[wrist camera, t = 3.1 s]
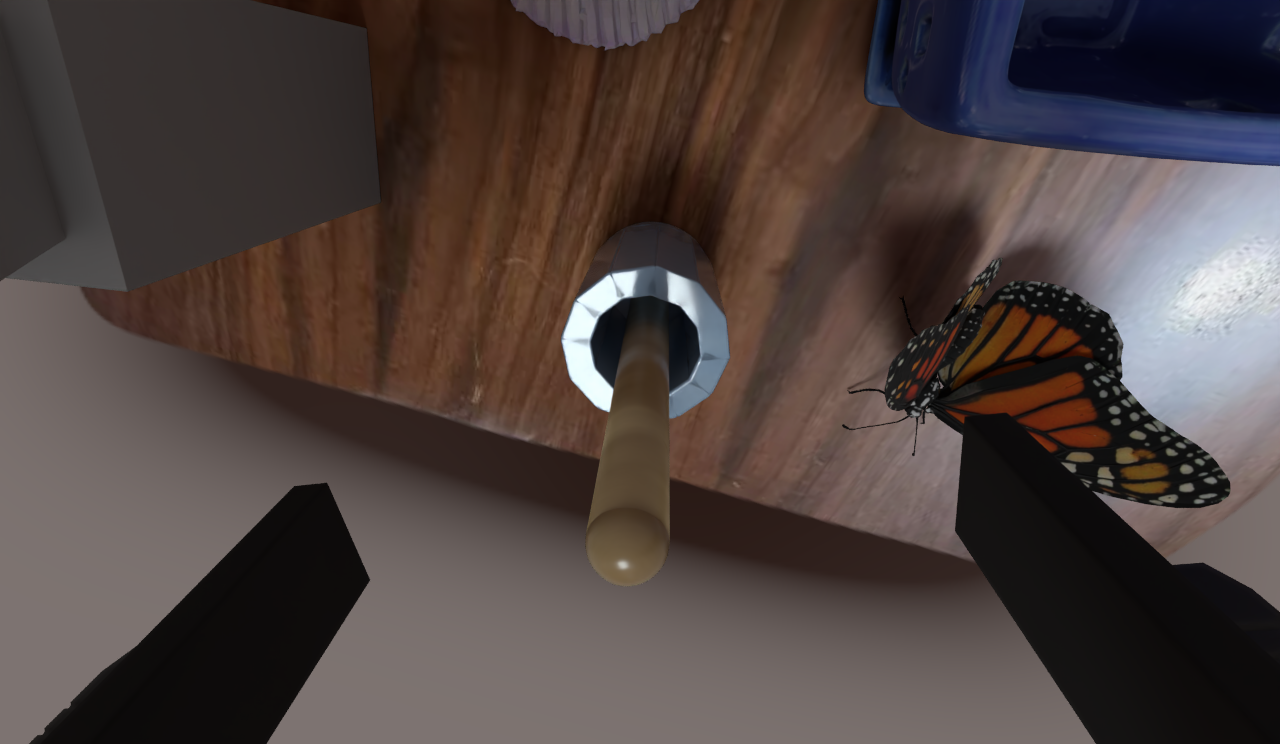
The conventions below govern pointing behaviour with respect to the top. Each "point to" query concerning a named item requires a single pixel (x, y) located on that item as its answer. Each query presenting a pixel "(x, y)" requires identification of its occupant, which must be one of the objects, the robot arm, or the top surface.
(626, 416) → the stick
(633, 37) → the seashell
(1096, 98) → the flower pot
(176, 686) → the robot arm
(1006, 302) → the butterfly
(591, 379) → the holder
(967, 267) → the top surface
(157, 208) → the perfume bottle
